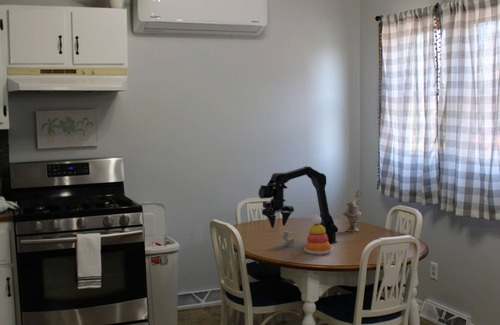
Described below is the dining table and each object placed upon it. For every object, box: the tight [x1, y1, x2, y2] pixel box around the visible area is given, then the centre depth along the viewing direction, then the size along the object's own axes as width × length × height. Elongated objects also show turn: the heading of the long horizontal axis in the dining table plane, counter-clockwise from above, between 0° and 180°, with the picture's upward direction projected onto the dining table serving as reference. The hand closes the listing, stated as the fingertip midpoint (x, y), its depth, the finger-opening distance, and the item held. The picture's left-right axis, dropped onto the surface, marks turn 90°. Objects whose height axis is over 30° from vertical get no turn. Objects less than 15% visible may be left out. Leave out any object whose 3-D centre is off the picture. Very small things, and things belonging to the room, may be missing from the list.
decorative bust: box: [342, 190, 363, 232], centre depth 334 cm, size 11×13×25 cm
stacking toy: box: [303, 214, 333, 256], centre depth 282 cm, size 14×14×20 cm
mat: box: [272, 240, 307, 251], centre depth 297 cm, size 10×20×1 cm, turn 133°
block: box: [282, 230, 295, 248], centre depth 295 cm, size 5×4×8 cm
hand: (278, 226), depth 289 cm, fingers open, 8 cm apart
